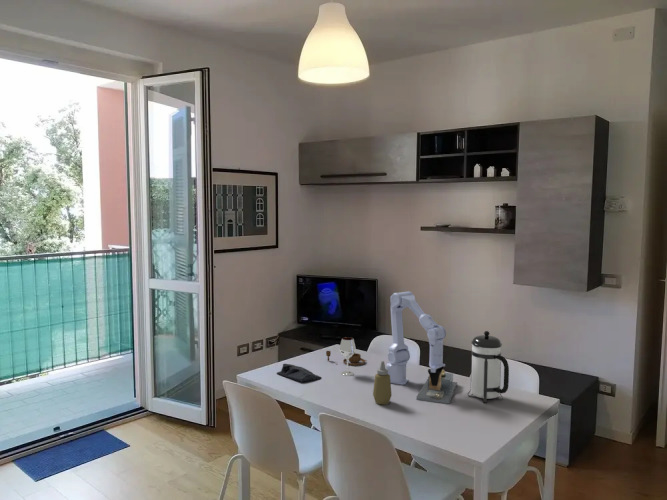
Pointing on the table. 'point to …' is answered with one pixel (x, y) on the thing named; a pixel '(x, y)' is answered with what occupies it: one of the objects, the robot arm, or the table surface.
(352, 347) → the wineglass
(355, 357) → the place setting
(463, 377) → the table surface
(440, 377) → the oak block
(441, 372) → the pin
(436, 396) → the base
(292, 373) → the dark grey cloth
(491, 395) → the coffee press
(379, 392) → the squeeze bottle
